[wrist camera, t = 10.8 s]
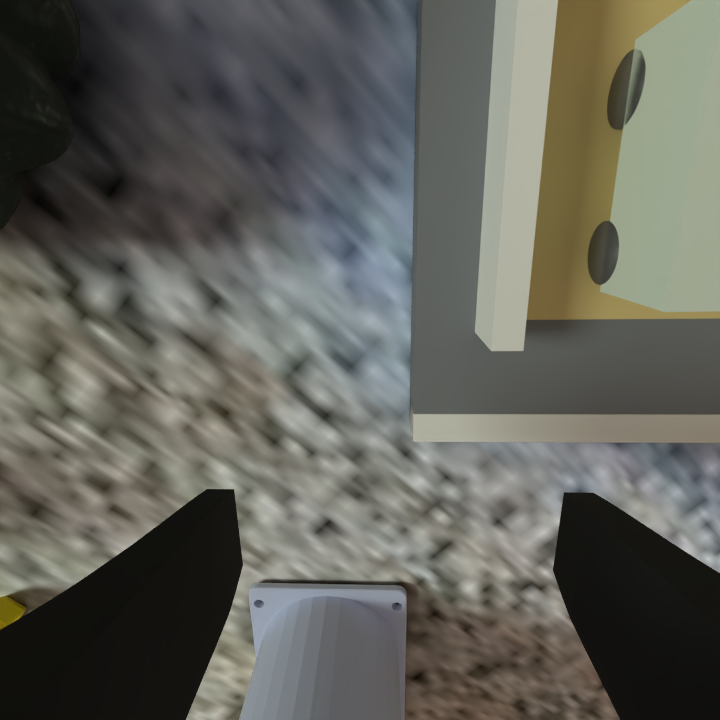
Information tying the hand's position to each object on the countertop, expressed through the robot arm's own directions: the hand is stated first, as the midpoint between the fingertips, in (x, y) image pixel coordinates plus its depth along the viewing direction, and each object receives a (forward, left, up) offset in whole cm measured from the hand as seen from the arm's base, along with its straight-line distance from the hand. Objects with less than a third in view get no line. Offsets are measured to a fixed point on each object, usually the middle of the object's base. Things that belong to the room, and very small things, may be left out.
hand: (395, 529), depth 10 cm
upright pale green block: (+8, -9, -8) cm, 14 cm away
